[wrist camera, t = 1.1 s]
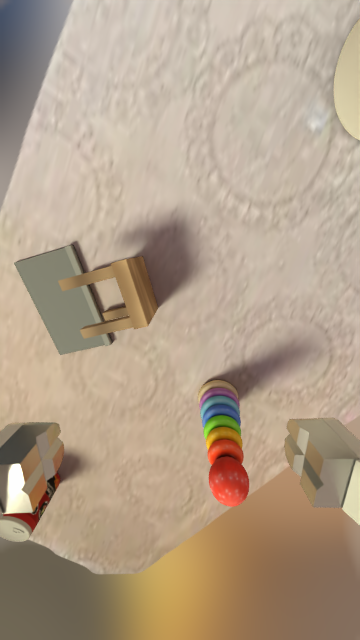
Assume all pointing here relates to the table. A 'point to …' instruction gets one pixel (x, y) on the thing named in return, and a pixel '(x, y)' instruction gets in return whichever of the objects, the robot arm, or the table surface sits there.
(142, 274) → the stool
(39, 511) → the canned food
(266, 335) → the table surface
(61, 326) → the mat
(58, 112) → the table surface
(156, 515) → the table surface
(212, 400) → the stacking toy
